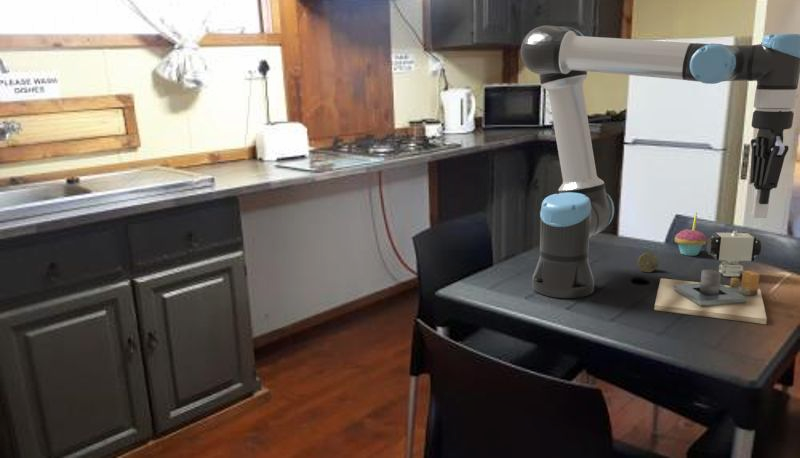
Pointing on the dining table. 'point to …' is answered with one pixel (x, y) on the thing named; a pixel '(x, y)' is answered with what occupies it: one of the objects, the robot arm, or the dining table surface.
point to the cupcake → (690, 240)
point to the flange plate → (722, 291)
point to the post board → (709, 286)
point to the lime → (647, 262)
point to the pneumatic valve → (733, 251)
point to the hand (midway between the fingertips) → (758, 217)
